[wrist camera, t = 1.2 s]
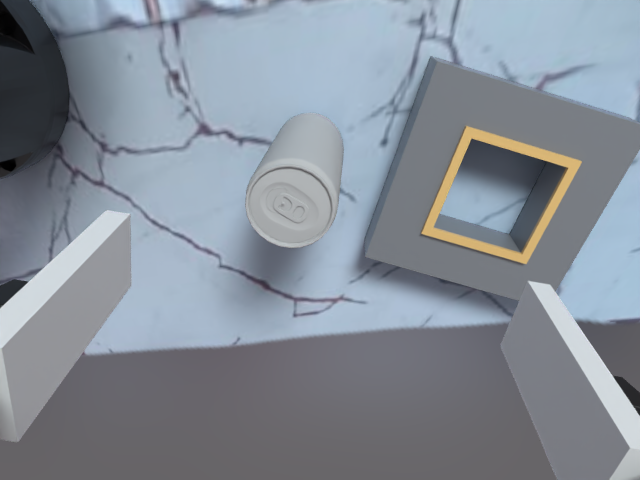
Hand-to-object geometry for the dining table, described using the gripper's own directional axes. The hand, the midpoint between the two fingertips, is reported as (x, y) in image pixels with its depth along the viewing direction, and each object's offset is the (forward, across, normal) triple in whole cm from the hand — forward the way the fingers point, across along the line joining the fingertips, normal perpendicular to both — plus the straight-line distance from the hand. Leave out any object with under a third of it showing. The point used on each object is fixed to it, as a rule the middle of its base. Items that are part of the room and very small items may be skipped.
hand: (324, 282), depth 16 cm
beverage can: (+21, -2, -2) cm, 21 cm away
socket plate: (+20, +11, -2) cm, 23 cm away
